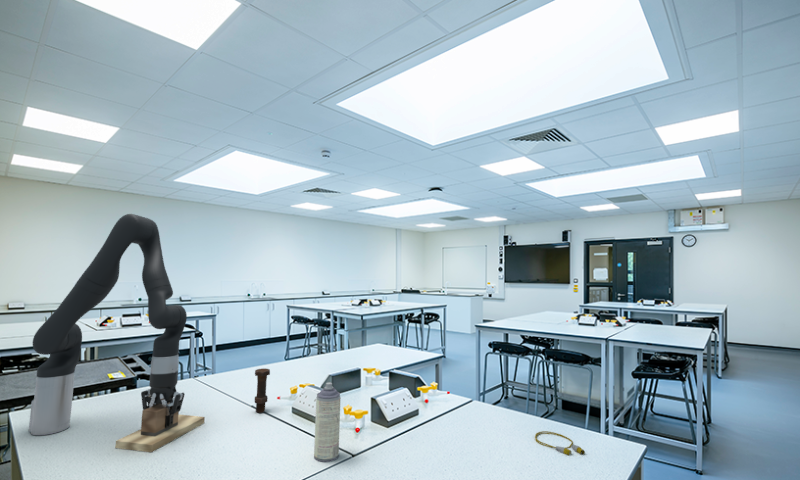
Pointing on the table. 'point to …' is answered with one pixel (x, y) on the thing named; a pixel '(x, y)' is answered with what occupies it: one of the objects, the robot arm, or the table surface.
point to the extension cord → (561, 449)
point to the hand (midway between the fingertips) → (160, 425)
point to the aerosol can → (327, 424)
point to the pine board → (155, 442)
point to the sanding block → (156, 420)
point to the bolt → (261, 389)
